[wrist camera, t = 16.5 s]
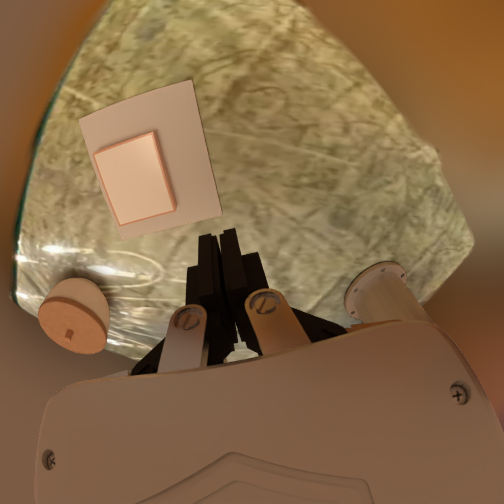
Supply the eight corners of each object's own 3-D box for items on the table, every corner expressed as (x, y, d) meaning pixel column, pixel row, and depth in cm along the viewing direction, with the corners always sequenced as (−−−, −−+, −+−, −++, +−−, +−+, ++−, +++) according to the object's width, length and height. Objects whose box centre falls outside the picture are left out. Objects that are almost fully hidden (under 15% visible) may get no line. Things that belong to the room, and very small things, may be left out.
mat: (222, 213, 32) (222, 215, 32) (123, 238, 32) (122, 240, 31) (191, 79, 23) (191, 79, 23) (80, 118, 23) (78, 119, 22)
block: (175, 211, 28) (119, 226, 28) (177, 204, 30) (123, 219, 30) (152, 132, 23) (92, 153, 23) (156, 129, 25) (98, 149, 25)
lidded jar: (64, 252, 31) (37, 297, 23) (127, 287, 36) (114, 338, 28) (50, 297, 35) (31, 340, 27) (104, 325, 40) (93, 371, 32)
